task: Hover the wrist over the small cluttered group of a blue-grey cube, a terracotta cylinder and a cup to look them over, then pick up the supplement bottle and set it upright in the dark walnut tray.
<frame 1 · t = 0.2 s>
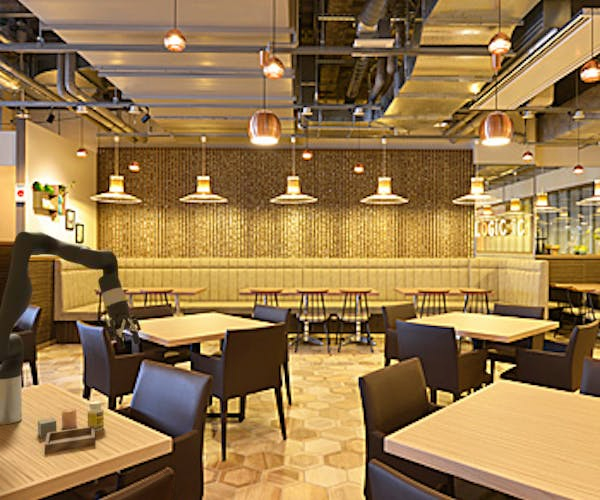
hand: (130, 346, 178), 31 cm above the table, tool tilted 20°, fingers open, 8 cm apart
supplement bottle: (95, 429, 184), on the table
walnut tray: (70, 443, 171), on the table
blue-grey cube: (47, 434, 180), on the table
terracotta cylinder: (69, 427, 187), on the table
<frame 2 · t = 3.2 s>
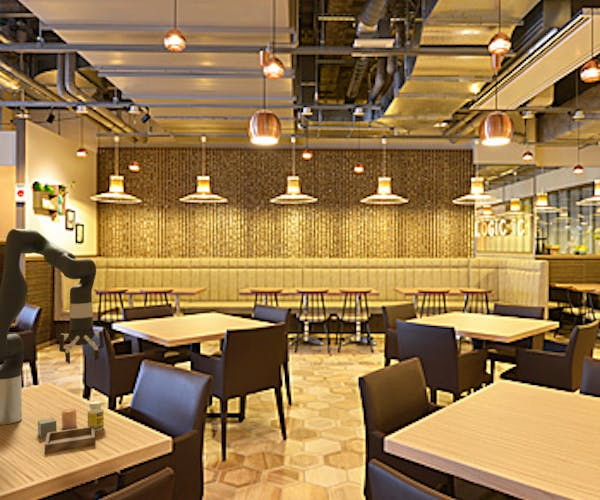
hand: (82, 361, 177), 26 cm above the table, tool pointing down, fingers open, 8 cm apart
nothing on the table moved.
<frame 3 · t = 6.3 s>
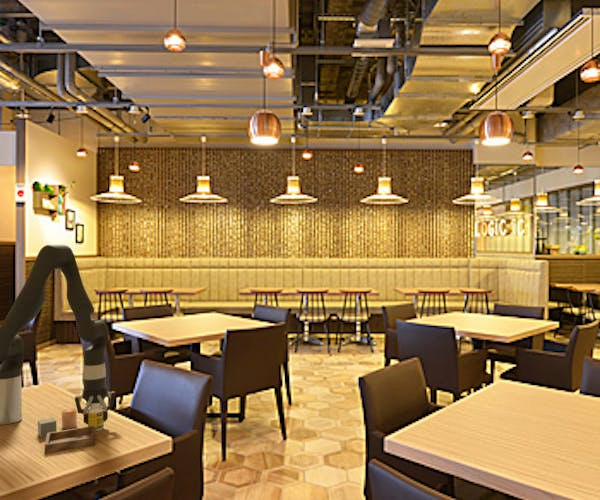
hand: (95, 422, 184), 3 cm above the table, tool pointing down, fingers closed on supplement bottle, 5 cm apart
supplement bottle: (95, 429, 184), on the table, touching gripper
everything else where it was.
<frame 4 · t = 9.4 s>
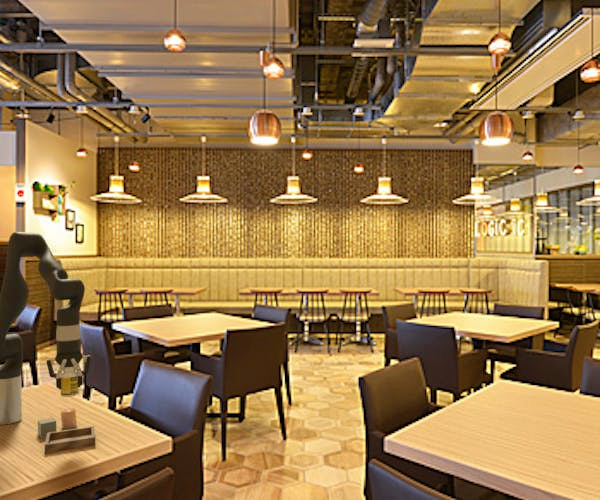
hand: (69, 387, 171), 19 cm above the table, tool pointing down, fingers closed on supplement bottle, 5 cm apart
supplement bottle: (69, 395, 171), point 16 cm above the table, touching gripper
everything else where it was.
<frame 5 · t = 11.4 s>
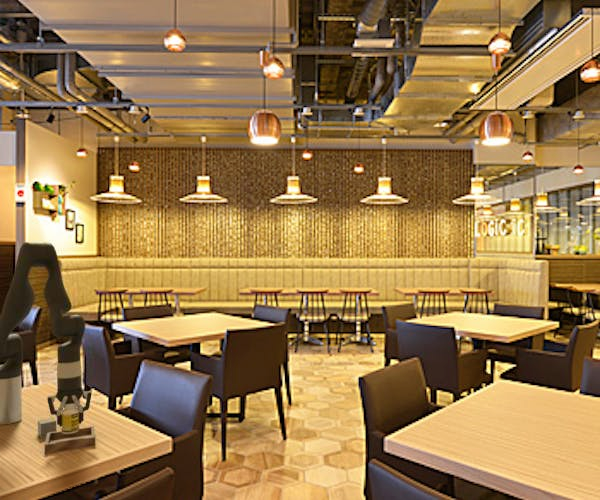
hand: (70, 424, 171), 6 cm above the table, tool pointing down, fingers closed on supplement bottle, 5 cm apart
supplement bottle: (70, 432, 171), point 4 cm above the table, touching gripper
everything else where it was.
when the fingers open (5 cm above the table, at t = 12.8 s): supplement bottle drops 1 cm, resting on walnut tray.
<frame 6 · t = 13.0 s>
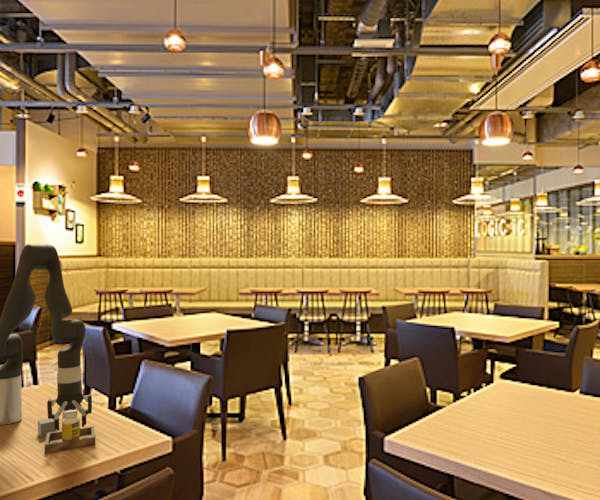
hand: (70, 428, 171), 5 cm above the table, tool pointing down, fingers open, 7 cm apart
supplement bottle: (71, 441, 171), point 1 cm above the table, touching walnut tray
everything else where it was.
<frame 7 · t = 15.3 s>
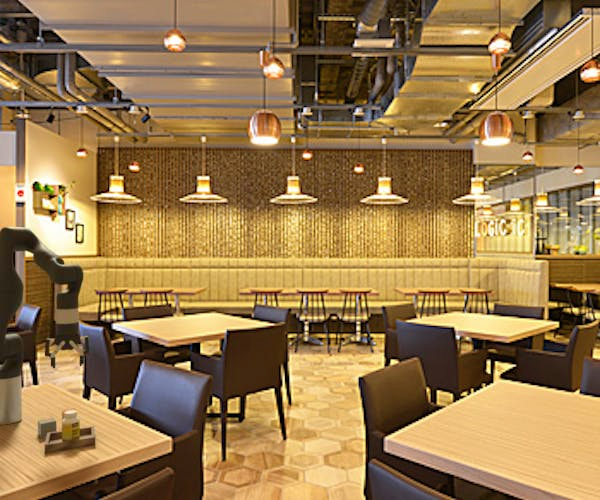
hand: (67, 366, 178), 24 cm above the table, tool pointing down, fingers open, 8 cm apart
nothing on the table moved.
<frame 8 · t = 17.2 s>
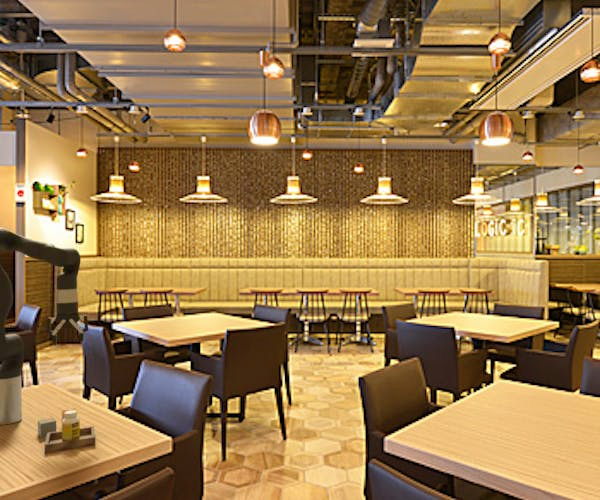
hand: (68, 343, 190), 30 cm above the table, tool pointing down, fingers open, 8 cm apart
at the end: supplement bottle inside the target area on the walnut tray (0.1 cm from its centre), point 0.6 cm above the walnut tray's base; supplement bottle tilted 0°; the gripper is holding nothing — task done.
